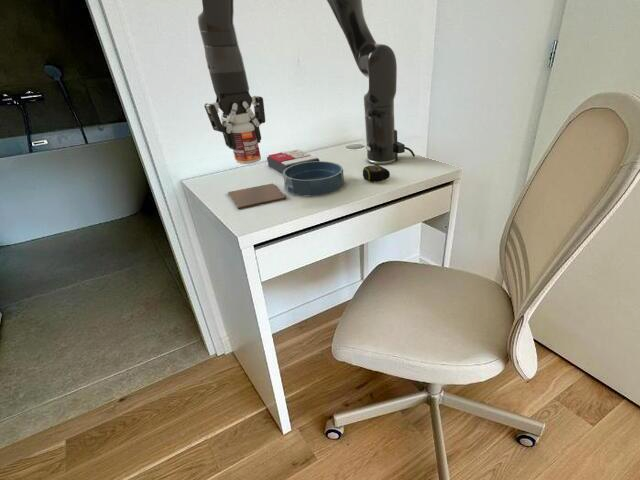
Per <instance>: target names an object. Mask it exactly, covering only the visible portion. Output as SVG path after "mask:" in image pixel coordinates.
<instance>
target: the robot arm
mask: <svg viewBox="0 0 640 480" xmlns="http://www.w3.org/2000/svg"><path fill="white" fill-rule="evenodd" d="M326 2H327V4H328V6H329V7H330V8H329V9H330V10H331V11H332V14H333V16H334V17H335V19H336V21H337V23H338V25H339V27H340V29H341V30H342V33H343V34H344V36H345V39H346V41H347V44H348V46H349V49H350V51H351V55H352V57H353V59H354V62H355V64H356V67H357V69H358V70H359V72H360V73H361V74H362V75H363V77H365V78H367V79H368V90H367V92H366V93H365V94H364V95H363V111H364V124H365V125H364V127H365V141H366V145H365V149H366V161H367V163H369V164H372V165H389V164H390V165H391V164H393V163H395V162H396V161H399V155H398V154H403V153H404V154H405V151H408V152H410V153H411V156H412V157H413V158H415V156H416V155H415V152H414V151H413V150H412V149H411V148H409V147H407V146H406V145H405V144H404V143H402V142H400V141H398V130H397V129H395V128H396V127H395V125H396V124H395V98H396V94H397V84H398V83H397V79H398V74H397V73H398V66H397V65H398V64H397V57H396V53H395V52H394V50H393V49H392V47H390V46H389V45H387V44H383V43H377V42H376V40H375V38H374V37H373V35H372V33H371V31H370V29H369V26H368V23H367V22H366V18H365V14H364V13H365V12H364V7H363V0H326ZM201 3H202V5H201V6H202V12H200V13H199V15H198V16H197V25H198V29H199V33H200V38H201V41H202V44H203V49H204V56H205V60H206V65H207V69H208V72H209V76H210V79H211V84H212V87H213V91H214V94H215V97H216V98H215V102H212V103H207V102H206V103H205V104H204V105H203V106H204V109H205V111H206V114H207V118H208V119H209V122H210V124H211V127H212V130H213V131H215V132H219V133H222V136H223V139H224V143H225V146H226V147H228V148H229V149H230V150H233V149H236V145H235V141H234V137H233V133H231V130H232V125H233V124H234V120H235V115H237V114H242V113H249V116H250V121H249V123H251V124H253V125H254V128H255V132H256V137H257V142H258V144H261V140H262V135H261V130H260V126H261V125H262V124H264V123H266V113H265V103H264V98H263V97H262V96H260V95H253V96H251V94H250V86H249V81H248V77H247V73H246V67H245V62H244V58H243V55H242V52H241V48H240V45H239V40H238V37H237V32H236V28H235V24H234V23H235V22H234V15H235V14H234V13H235V11H234V9H235V7H234V0H201ZM252 105H253V110H252V108H251V107H252ZM219 109H220V110H221V111H222V112H221V116H219V112H220V110H219ZM226 115H228V116H229V117H228V119H227V117H226Z"/></svg>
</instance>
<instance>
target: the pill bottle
mask: <svg viewBox="0 0 640 480" xmlns="http://www.w3.org/2000/svg"><path fill="white" fill-rule="evenodd" d="M226 117H227V119H228V117H229V116H228V115H226ZM249 121H250V116H249V113H242V114H237V115H235V120H234V124H233V125H232V130H231V133H233V137H234V141H235V145H236V149H232V153H233V157H234V160H235V162H236V163H238V164H241V165H250V164H255V163H258V162H260V161H261V160H262V157H261V152H260V151H261V150H260V146H259V143H258V142H257V137H256V132H255V128H254V125H253V124H251V123H249Z"/></svg>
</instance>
